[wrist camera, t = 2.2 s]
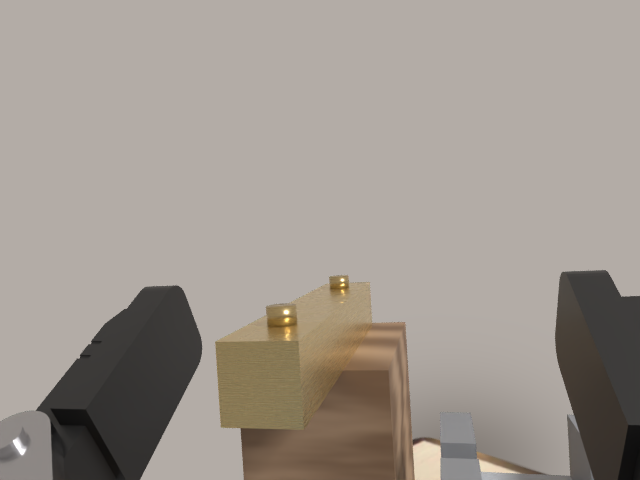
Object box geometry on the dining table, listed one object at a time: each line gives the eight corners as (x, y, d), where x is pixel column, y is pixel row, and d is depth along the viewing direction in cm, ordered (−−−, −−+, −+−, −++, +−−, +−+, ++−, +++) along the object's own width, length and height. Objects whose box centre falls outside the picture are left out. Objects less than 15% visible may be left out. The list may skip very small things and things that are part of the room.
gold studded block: (329, 326, 47) (325, 272, 47) (372, 326, 46) (368, 271, 46) (220, 427, 24) (213, 320, 24) (303, 429, 23) (297, 318, 23)
